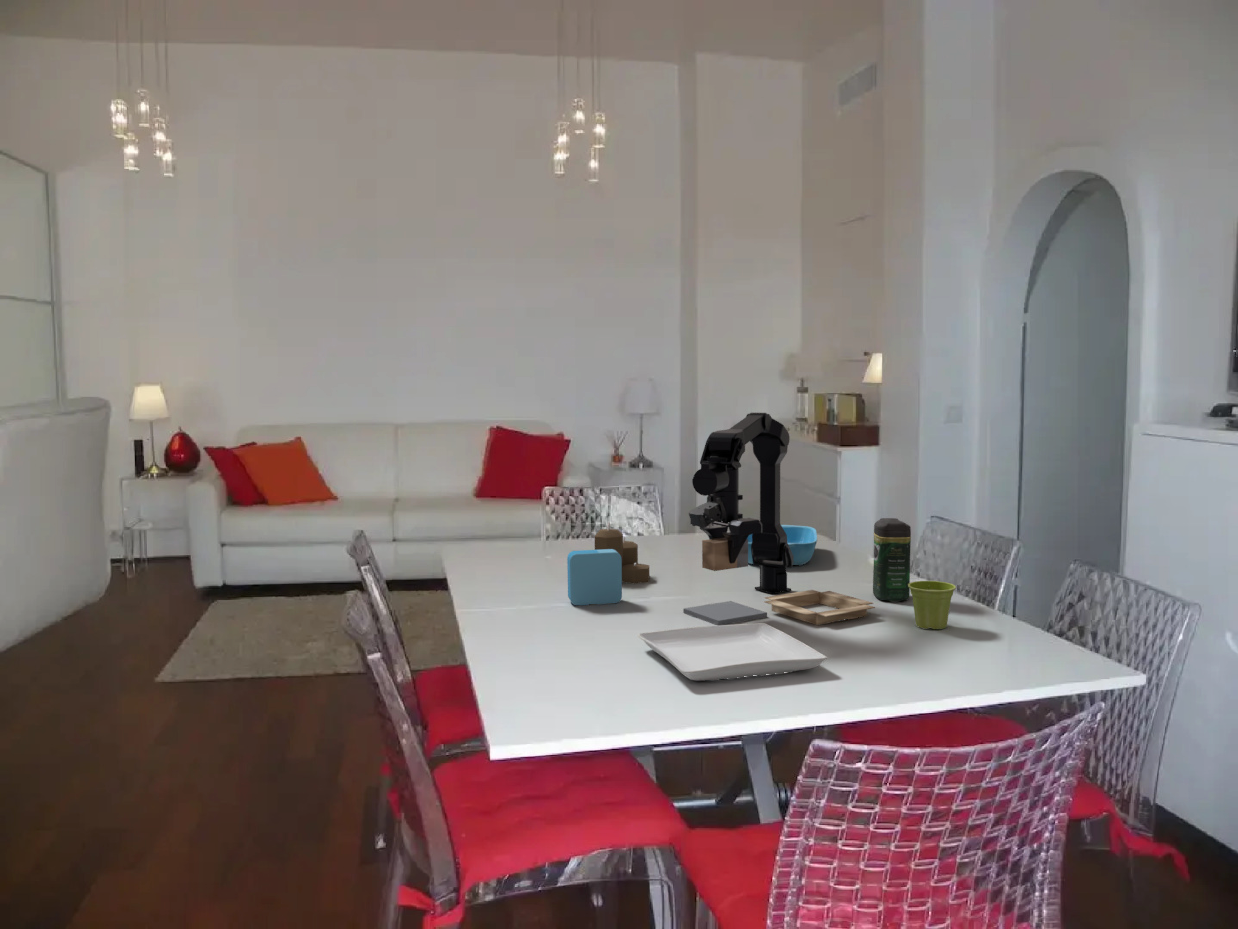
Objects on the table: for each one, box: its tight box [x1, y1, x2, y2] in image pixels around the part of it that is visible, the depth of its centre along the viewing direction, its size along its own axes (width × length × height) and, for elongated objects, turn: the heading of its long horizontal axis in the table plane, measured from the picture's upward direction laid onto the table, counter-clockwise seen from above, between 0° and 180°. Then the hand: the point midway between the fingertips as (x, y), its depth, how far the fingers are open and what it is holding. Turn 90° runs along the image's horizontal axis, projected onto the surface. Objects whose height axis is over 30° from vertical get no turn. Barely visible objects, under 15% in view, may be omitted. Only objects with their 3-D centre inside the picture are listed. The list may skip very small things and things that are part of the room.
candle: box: [594, 521, 650, 584], centre depth 261 cm, size 14×14×15 cm
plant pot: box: [908, 580, 957, 630], centre depth 212 cm, size 9×9×9 cm
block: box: [701, 537, 749, 572], centre depth 222 cm, size 4×9×6 cm, turn 121°
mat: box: [683, 600, 768, 626], centre depth 224 cm, size 13×13×1 cm
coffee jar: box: [872, 517, 912, 603], centre depth 237 cm, size 10×8×19 cm
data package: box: [566, 549, 623, 606], centre depth 236 cm, size 12×4×12 cm, turn 101°
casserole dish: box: [747, 524, 818, 566], centre depth 289 cm, size 37×22×7 cm, turn 171°
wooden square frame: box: [763, 589, 876, 626], centre depth 224 cm, size 20×19×2 cm
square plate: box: [637, 622, 828, 681], centre depth 189 cm, size 27×27×4 cm
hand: (725, 561), depth 222 cm, fingers closed on block, 4 cm apart
